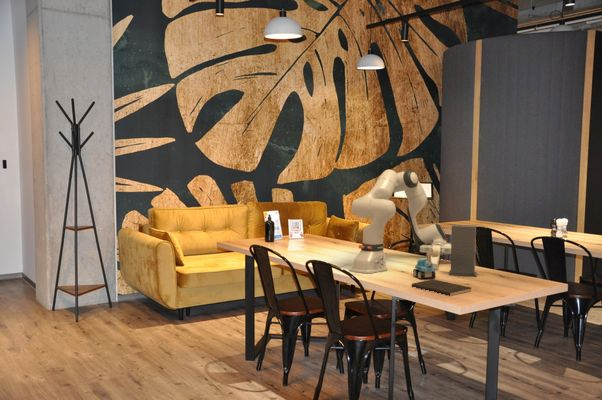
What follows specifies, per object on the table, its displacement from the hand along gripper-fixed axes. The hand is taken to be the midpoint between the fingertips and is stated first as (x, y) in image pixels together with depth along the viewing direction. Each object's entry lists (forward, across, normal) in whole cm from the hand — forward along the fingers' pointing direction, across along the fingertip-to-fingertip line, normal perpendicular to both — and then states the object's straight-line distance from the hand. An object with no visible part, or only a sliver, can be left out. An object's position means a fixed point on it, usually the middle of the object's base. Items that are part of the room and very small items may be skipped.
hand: (436, 251), depth 347 cm
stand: (+22, +16, +8) cm, 28 cm away
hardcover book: (+61, +8, +8) cm, 62 cm away
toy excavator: (+39, -1, +8) cm, 40 cm away
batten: (+5, 0, +4) cm, 6 cm away
